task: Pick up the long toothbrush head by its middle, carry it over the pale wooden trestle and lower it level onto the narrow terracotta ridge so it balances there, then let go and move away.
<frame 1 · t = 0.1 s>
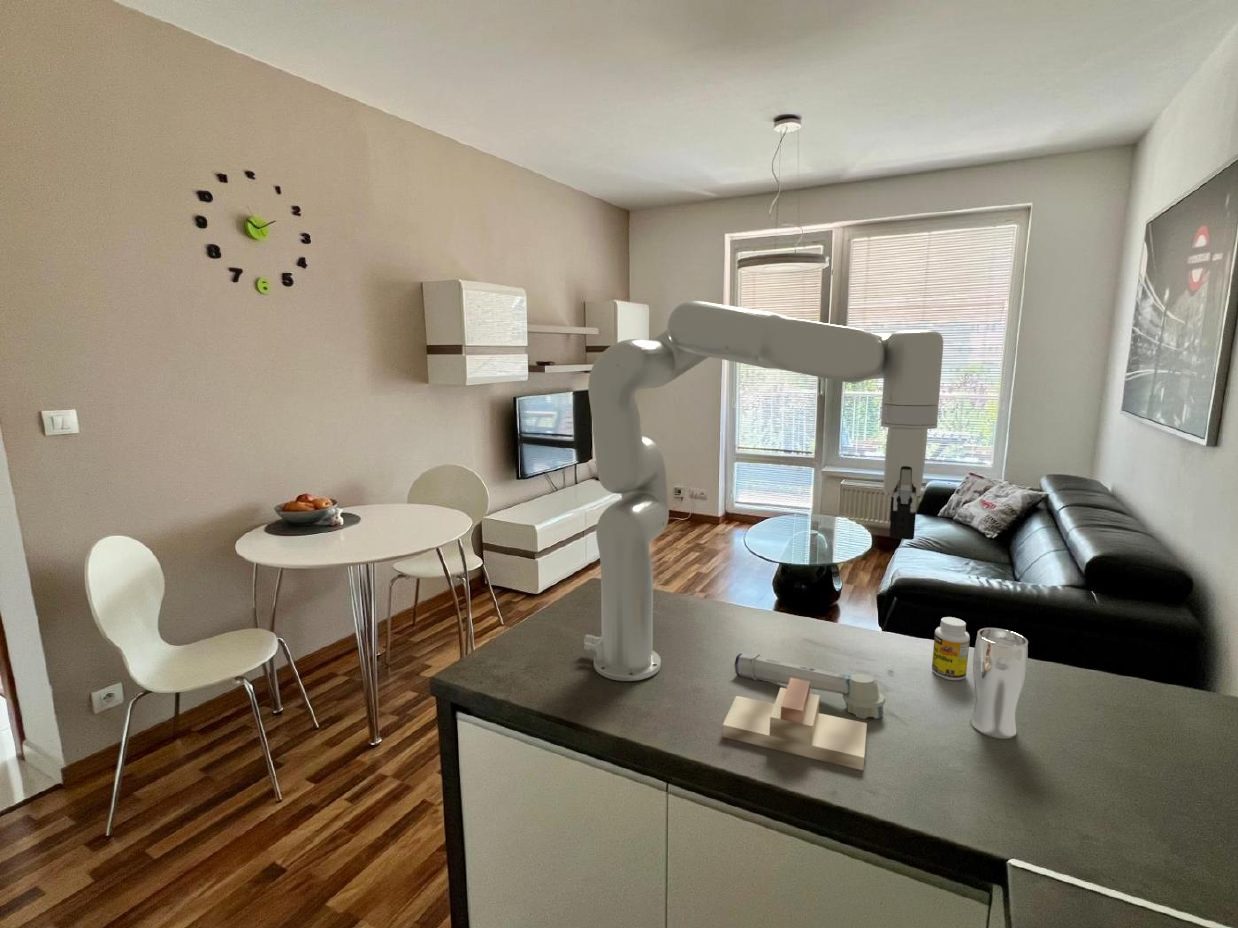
hand: (901, 529, 94), 31 cm above the counter, tool pointing down, fingers open, 9 cm apart
balance trestle: (794, 735, 95), on the counter
supplement bottle: (948, 675, 113), on the counter
beer glass: (992, 728, 97), on the counter
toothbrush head: (805, 695, 107), on the counter
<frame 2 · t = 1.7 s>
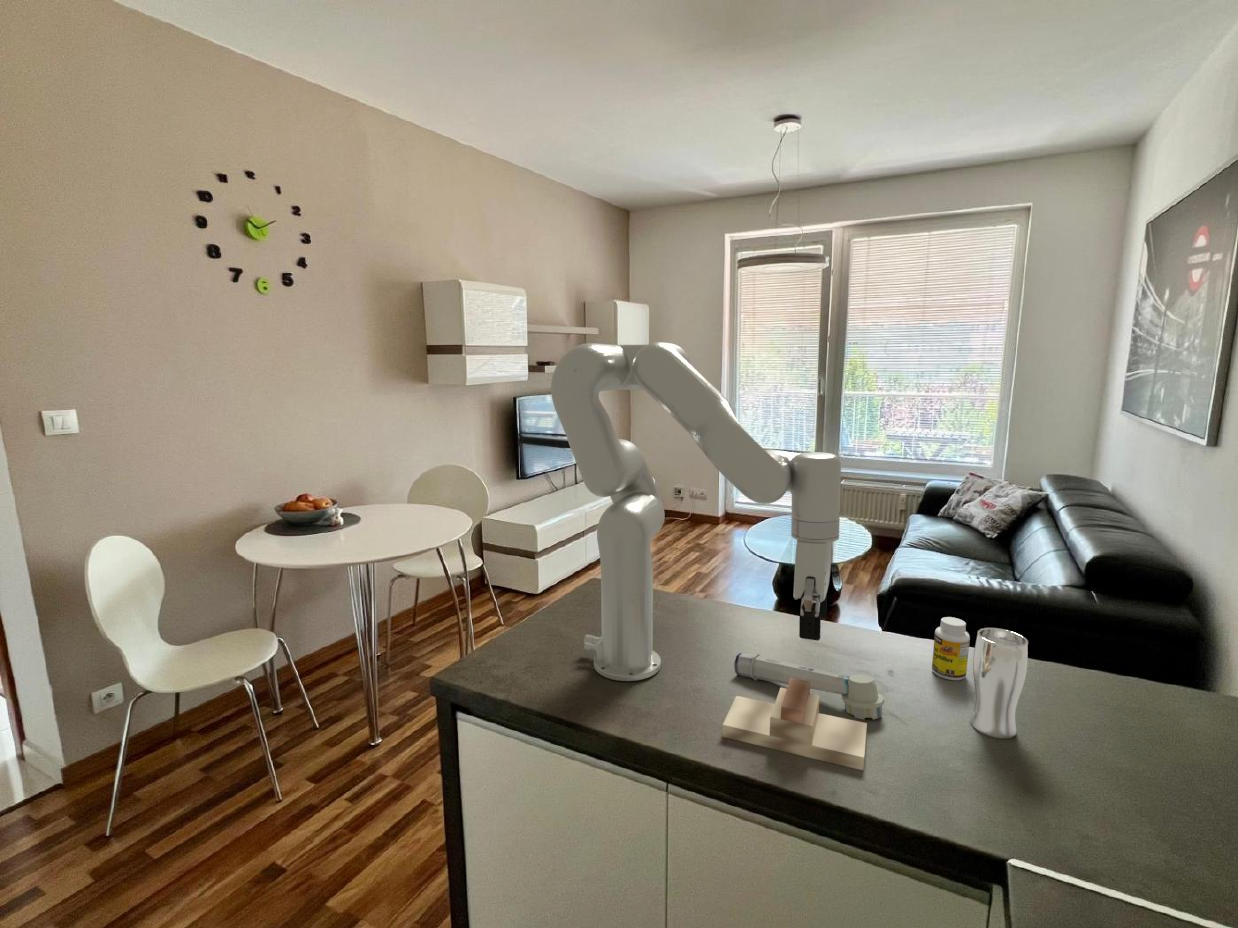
hand: (813, 626, 105), 12 cm above the counter, tool pointing down, fingers open, 9 cm apart
nothing on the counter moved.
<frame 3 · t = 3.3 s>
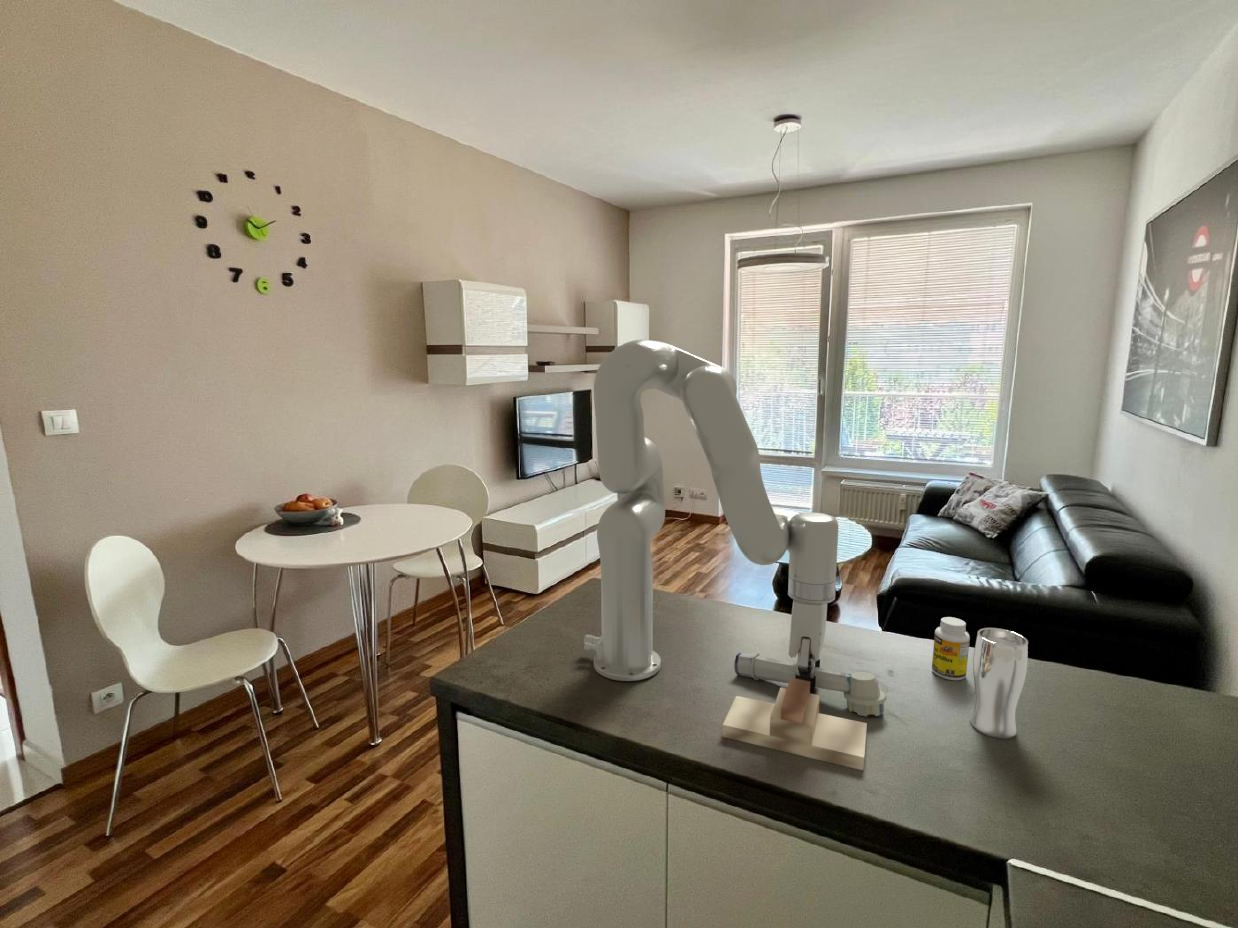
hand: (807, 687, 107), 1 cm above the counter, tool pointing down, fingers closed on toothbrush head, 5 cm apart
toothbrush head: (805, 694, 107), on the counter, touching gripper
everything else where it was.
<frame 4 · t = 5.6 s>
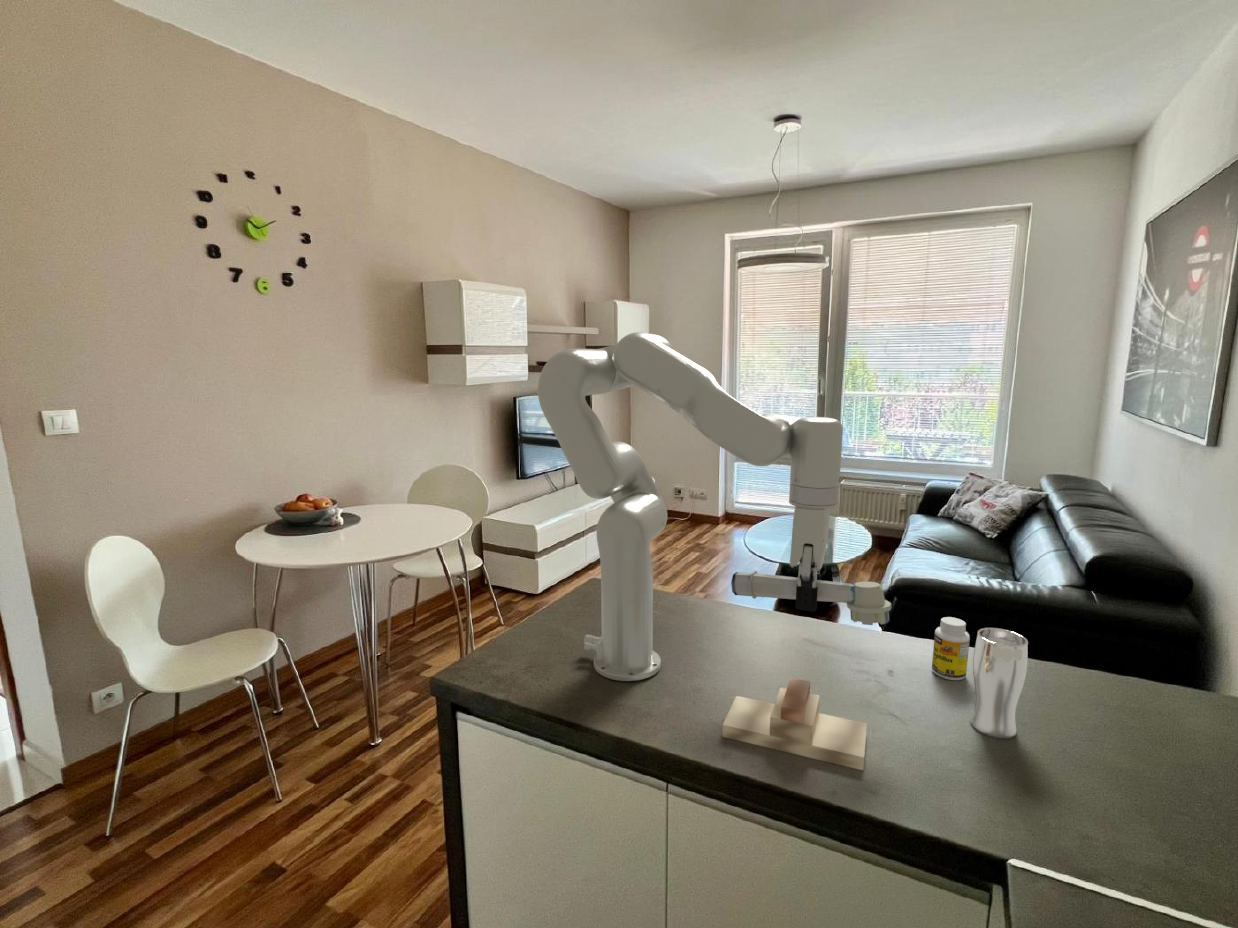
hand: (807, 601, 102), 17 cm above the counter, tool pointing down, fingers closed on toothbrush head, 5 cm apart
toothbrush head: (806, 609, 102), point 16 cm above the counter, touching gripper
everything else where it was.
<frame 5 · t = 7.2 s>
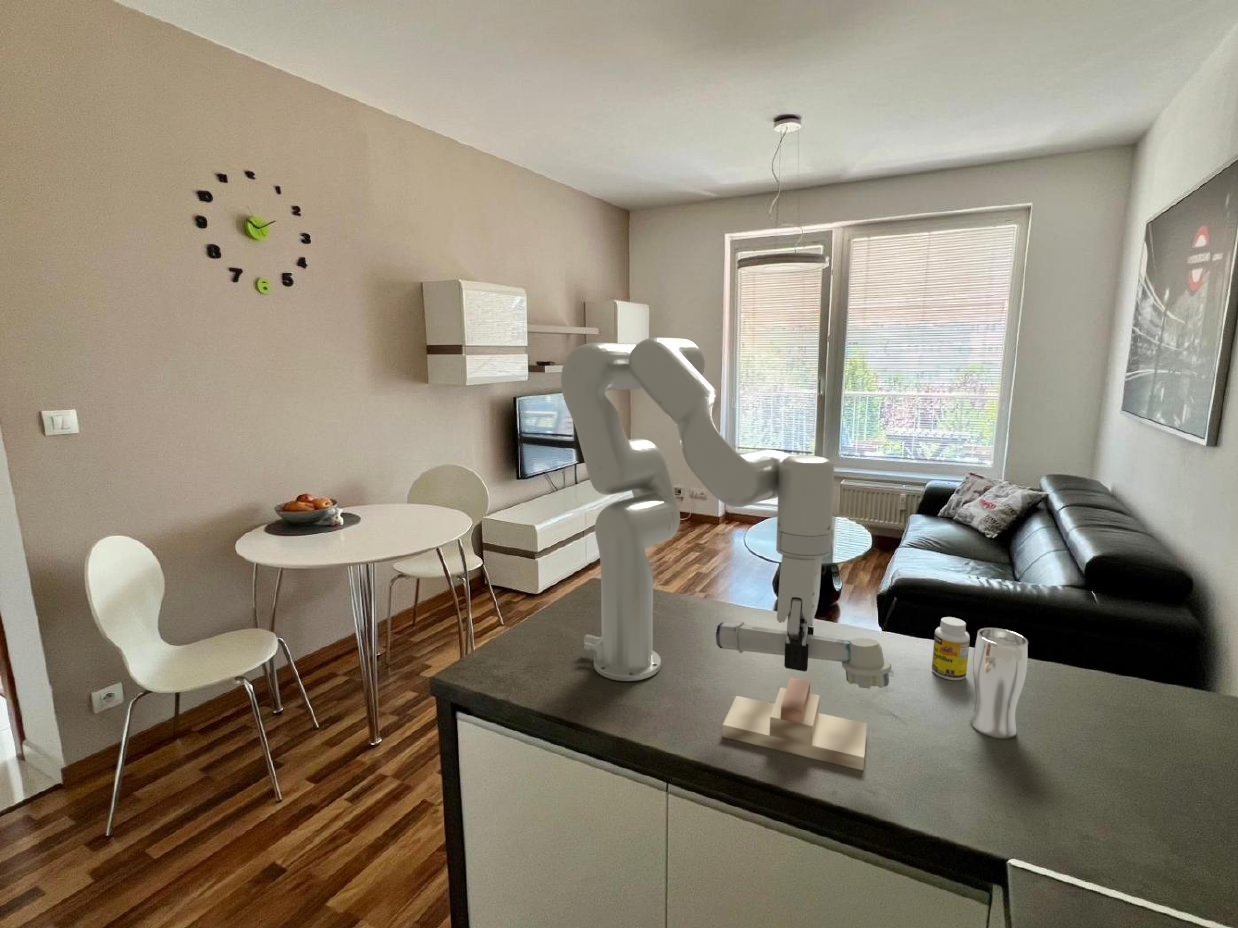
hand: (798, 658, 92), 13 cm above the counter, tool pointing down, fingers closed on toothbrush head, 5 cm apart
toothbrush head: (797, 666, 93), point 11 cm above the counter, touching gripper
everything else where it was.
when the fingers open (9 cm above the counter, at t = 8.3 s): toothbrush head stays where it is, resting on balance trestle.
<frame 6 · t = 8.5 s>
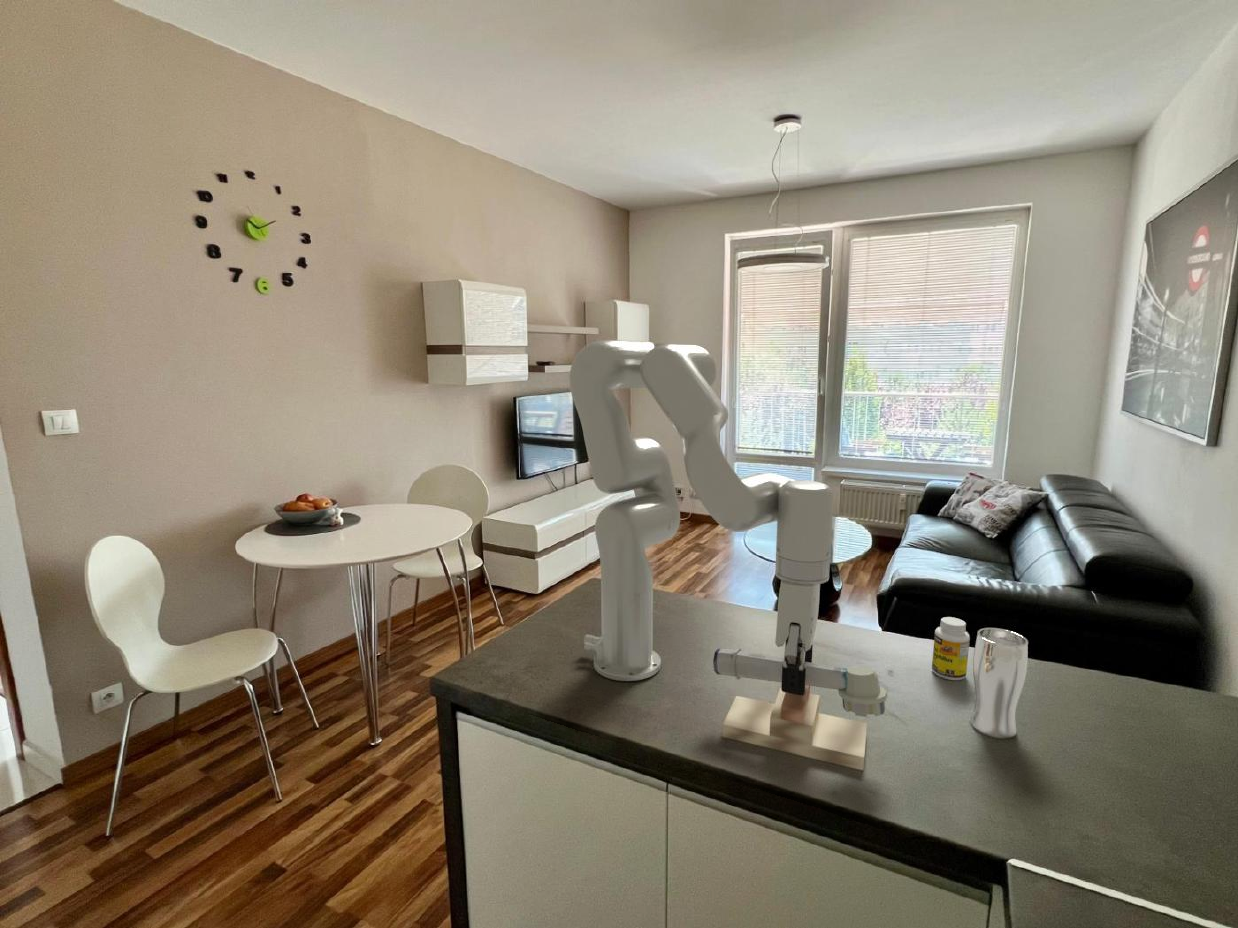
hand: (796, 678, 93), 9 cm above the counter, tool pointing down, fingers open, 7 cm apart
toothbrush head: (794, 693, 94), point 7 cm above the counter, touching balance trestle
everything else where it was.
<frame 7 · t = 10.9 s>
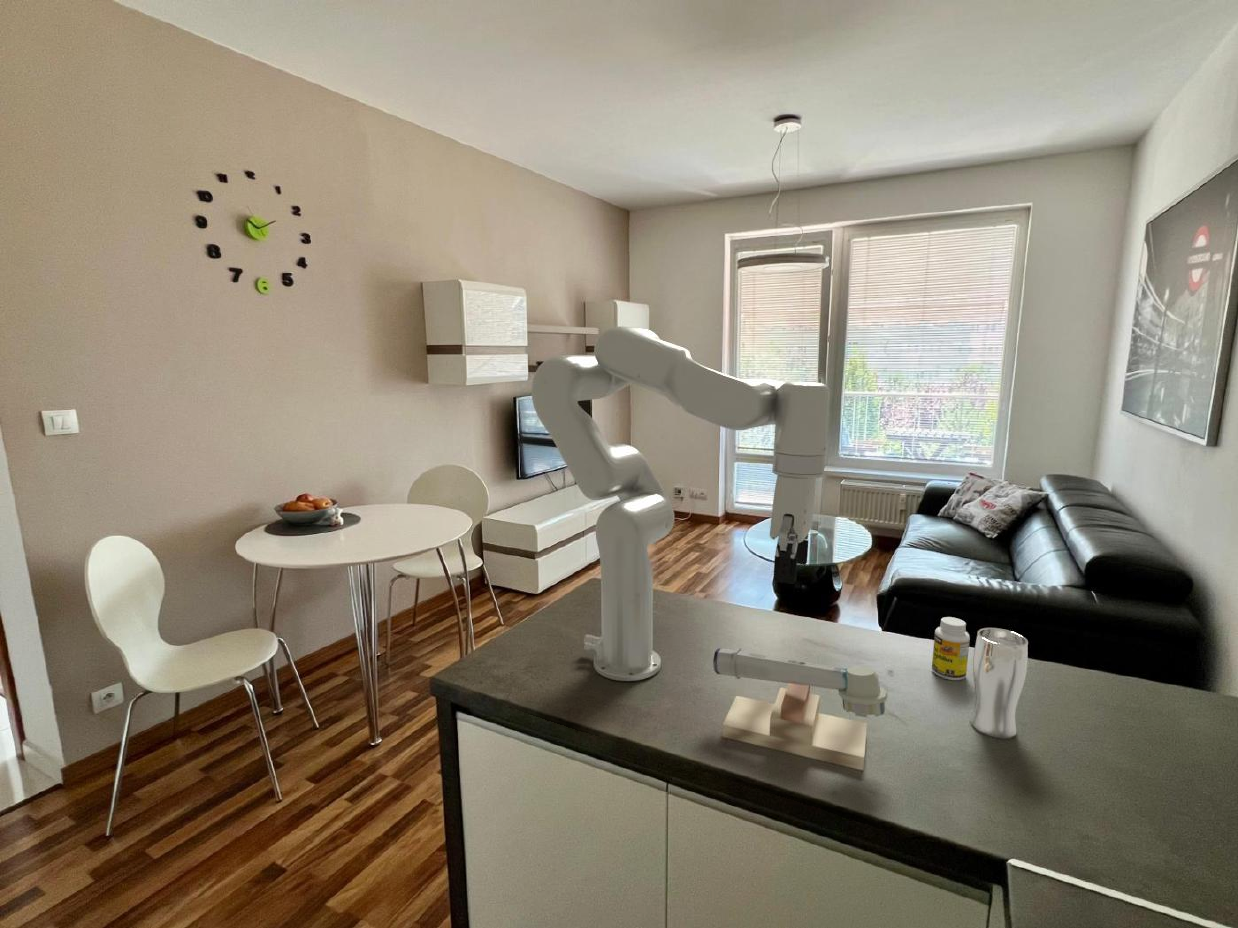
hand: (790, 572, 97), 24 cm above the counter, tool pointing down, fingers open, 9 cm apart
nothing on the counter moved.
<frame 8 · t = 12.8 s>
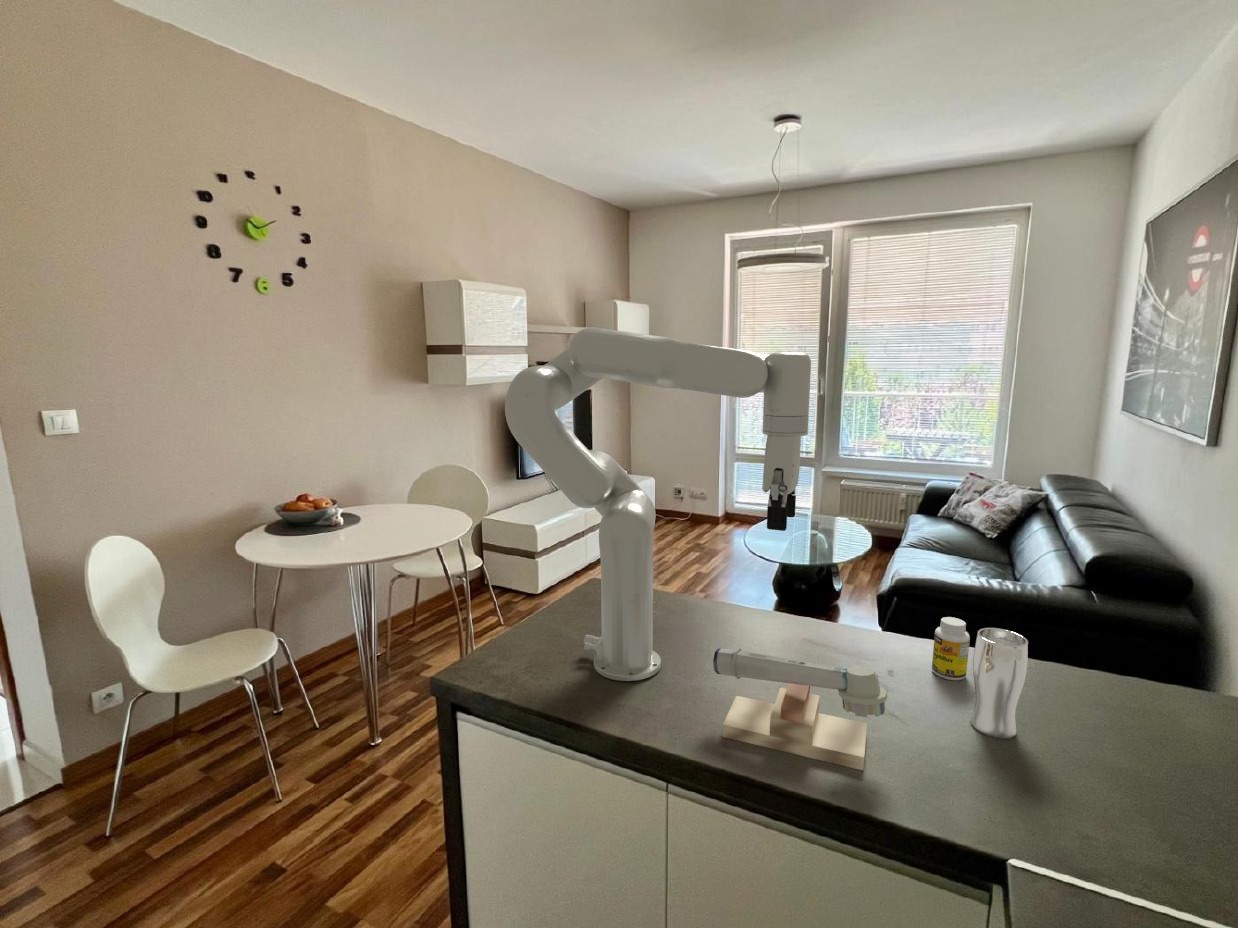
hand: (781, 522, 109), 28 cm above the counter, tool pointing down, fingers open, 9 cm apart
nothing on the counter moved.
at the end: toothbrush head 0.3 cm off-centre on the balance trestle, point 6.8 cm above the balance trestle's base; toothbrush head tilted 0°; the gripper is holding nothing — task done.
